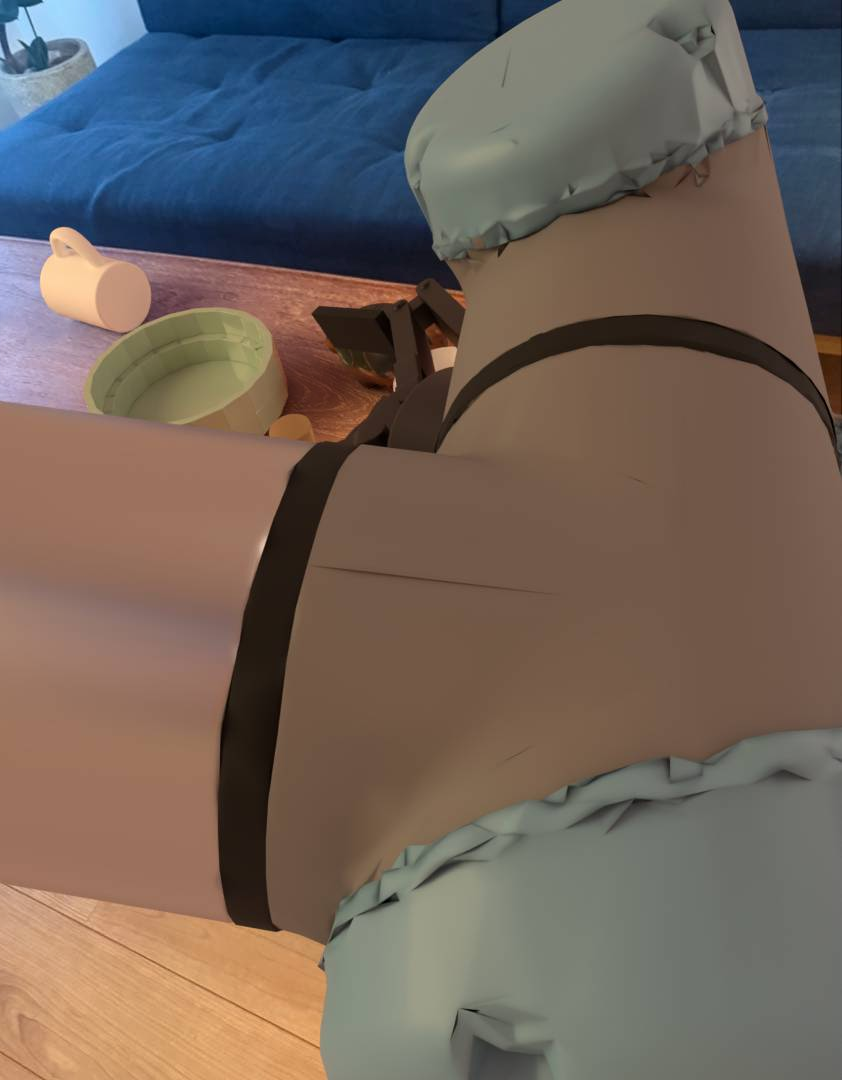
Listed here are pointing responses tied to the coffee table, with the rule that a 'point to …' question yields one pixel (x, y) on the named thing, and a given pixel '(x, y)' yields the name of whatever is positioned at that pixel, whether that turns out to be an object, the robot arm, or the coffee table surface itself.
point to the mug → (93, 285)
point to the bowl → (193, 373)
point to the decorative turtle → (379, 360)
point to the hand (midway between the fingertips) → (254, 402)
